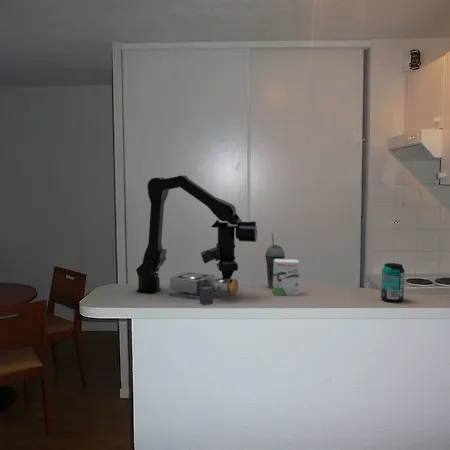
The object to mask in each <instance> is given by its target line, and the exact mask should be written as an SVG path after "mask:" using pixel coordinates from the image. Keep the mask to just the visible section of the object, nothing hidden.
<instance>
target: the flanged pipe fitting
mask: <svg viewBox="0 0 450 450" xmlns="http://www.w3.org/2000/svg"><path fill="white" fill-rule="evenodd" d="M186 274H200V275H203V278H201V279H198V280H193V279H184V278H182V275H186ZM206 286H208V287H211V288H213V293H215V294H217V293H218V294H226V295H229V296H236V295H237V293H238V291H239V280H238V279H237V278H231V279H225V278H223V277H216V276H215V274H213V273H211V274H210V273H202V272H201V273H200V272H193V271H186V272H181V273H178V274H175V275H172V276H170V278H169V290H170V291H174V290H175V291H182V292H190V293H199V292H200V288H201V287H206Z"/></svg>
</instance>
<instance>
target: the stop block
mask: <svg viewBox="0 0 450 450" xmlns="http://www.w3.org/2000/svg"><path fill="white" fill-rule="evenodd" d="M199 304H202V305H205V306H206V305H211V304H214V292H213V288H211V287H208V286H206V287H201V288H200V299H199Z"/></svg>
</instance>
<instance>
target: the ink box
mask: <svg viewBox="0 0 450 450" xmlns="http://www.w3.org/2000/svg"><path fill="white" fill-rule="evenodd" d="M300 265H301V264H300V261H299V260H298V259H296V258H294V259H293V258H289V259H288V258H285V259H274V262H273V288H272V293H273V295H274V296H299V293H300V291H299V289H300Z"/></svg>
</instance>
